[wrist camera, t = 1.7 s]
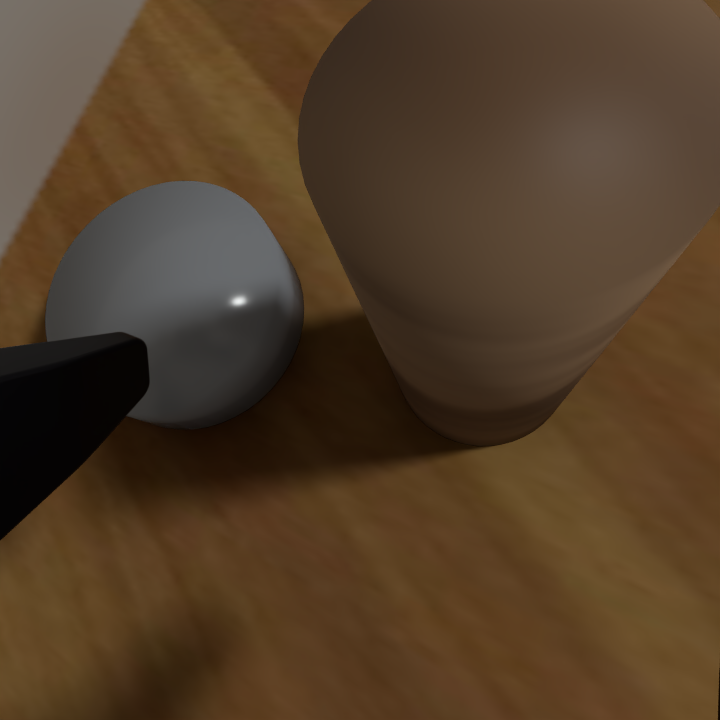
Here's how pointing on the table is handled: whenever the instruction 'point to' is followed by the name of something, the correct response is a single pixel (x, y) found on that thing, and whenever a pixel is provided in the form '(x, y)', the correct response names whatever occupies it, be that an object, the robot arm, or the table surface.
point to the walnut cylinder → (510, 186)
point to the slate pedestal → (185, 299)
